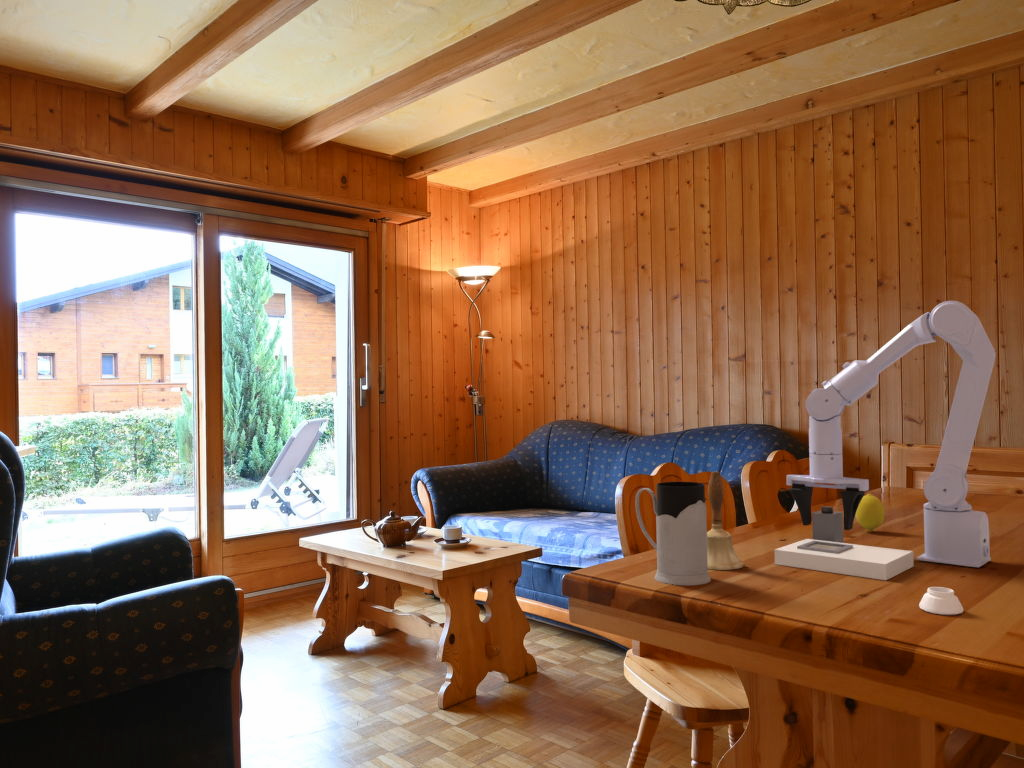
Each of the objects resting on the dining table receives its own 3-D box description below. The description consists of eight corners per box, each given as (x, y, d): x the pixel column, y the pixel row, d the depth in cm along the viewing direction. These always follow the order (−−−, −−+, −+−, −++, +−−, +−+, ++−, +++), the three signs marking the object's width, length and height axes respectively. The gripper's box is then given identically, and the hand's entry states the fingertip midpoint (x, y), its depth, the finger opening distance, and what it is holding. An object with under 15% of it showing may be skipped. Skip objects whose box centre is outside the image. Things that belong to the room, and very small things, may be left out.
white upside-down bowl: (971, 613, 100) (934, 604, 105) (970, 591, 100) (934, 583, 105) (948, 619, 98) (911, 610, 102) (947, 596, 98) (910, 588, 102)
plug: (843, 550, 142) (842, 506, 142) (834, 553, 139) (833, 509, 139) (822, 547, 144) (820, 504, 145) (813, 550, 142) (811, 507, 142)
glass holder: (685, 588, 115) (683, 488, 116) (619, 572, 127) (617, 481, 127) (722, 579, 121) (720, 484, 121) (655, 564, 132) (654, 477, 132)
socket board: (913, 566, 127) (913, 548, 127) (885, 580, 118) (885, 561, 118) (807, 552, 140) (806, 536, 140) (774, 564, 131) (774, 547, 131)
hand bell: (684, 565, 131) (682, 472, 131) (709, 558, 137) (707, 468, 137) (728, 573, 125) (726, 475, 125) (752, 564, 131) (750, 471, 131)
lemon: (857, 533, 158) (856, 494, 158) (854, 529, 163) (853, 491, 163) (887, 534, 156) (886, 495, 156) (882, 530, 161) (881, 492, 161)
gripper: (778, 453, 144) (780, 525, 144) (857, 456, 134) (859, 534, 134) (795, 451, 149) (796, 520, 149) (872, 454, 139) (874, 529, 139)
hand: (827, 527), depth 142 cm, fingers open, 7 cm apart
